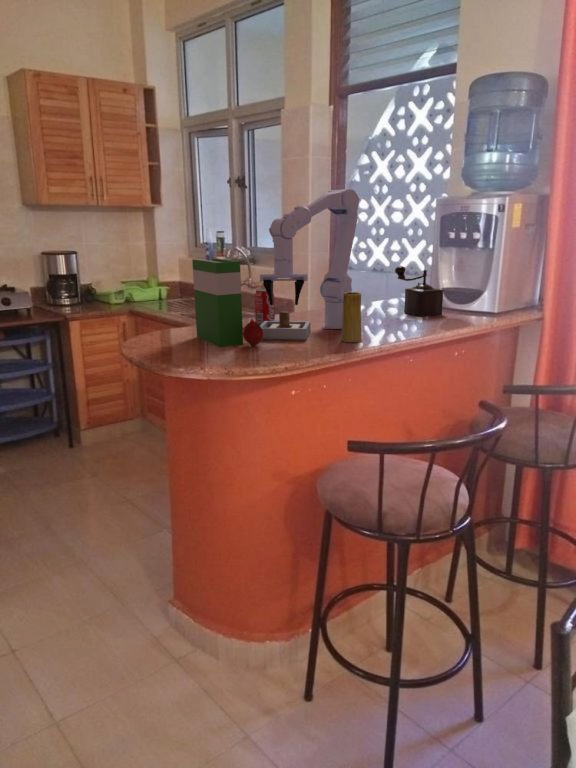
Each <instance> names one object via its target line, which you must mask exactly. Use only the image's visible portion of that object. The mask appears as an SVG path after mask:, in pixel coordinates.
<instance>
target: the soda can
mask: <svg viewBox="0 0 576 768" xmlns="http://www.w3.org/2000/svg"><path fill="white" fill-rule="evenodd" d="M253 297H254V298H253V299H254V301H253V302H254V321H255V322H256V323H258V324H260V325H261V324H262V323H263V322H264V321H276V319H275V318H276V304H275V303H276V302H275V300H276V299H275V294H274V292H273V299H274V304H273V305H270V300H269V296H268V294H267V291H266V289H265V288H257V289H255V292H254V296H253Z"/></svg>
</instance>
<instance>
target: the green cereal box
mask: <svg viewBox="0 0 576 768" xmlns="http://www.w3.org/2000/svg"><path fill="white" fill-rule="evenodd" d="M191 261H192V262H191V263H192V275H193V277H192V279H193V291H194V293H193V294H194V295H193V296H194V310H195V312H194V313H195V326H196V327H195V328H196V338H198V339H200V338H201V340H202V339H203V341H204V340H205V342H208V343H209V344H211V343H212V344H211V345H214V346H216V347H218V348H225V347H227V348H228V347H232V346H241V345H244V337H243V330H244V327H243V326H244V325H243V308H242V307H243V305H242V304H243V303H242V301H243V300H242V280H241V279H242V277H241V261H240V260H239V261H238V260H232V259H224V258H223V259H222V258H216V257H215V258H211V260H202V259H196V258H195V259H194V258H193V259H191Z"/></svg>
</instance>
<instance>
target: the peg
mask: <svg viewBox="0 0 576 768" xmlns="http://www.w3.org/2000/svg"><path fill="white" fill-rule="evenodd" d="M278 314H279V315H278V319H279V320H278V321H279V328H290V321H291V320H290V319H291V318H290V317H291V315H290V314H291V313H290V311H279V313H278Z"/></svg>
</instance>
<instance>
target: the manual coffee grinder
mask: <svg viewBox="0 0 576 768" xmlns="http://www.w3.org/2000/svg"><path fill="white" fill-rule="evenodd" d="M405 272H406V267H405V266H402V265H400V266H397V267H395V268H394V273H395V274H397V280H401V281H406V282H411V281H416V280H418V279H422V278H423V280H422V283H420V282H417V285H415V286H412V287H411V288H404V307H403V313H404V314H406V315H410V316H413V317H418V318H421V317H422V318H424V317H426V318H427V317H434V316H435V317H436V316H442V314H443V300H444V298H443V297H444V290H443V289H439V288H434V287H433V286H432V285H430V284H428V283H426V280H427V276H428V274H427V272H428V270H427V269H424V270H423V273H422V274H421V275H419V276H415V277H411V278H410V277H409V278H406V276H405Z"/></svg>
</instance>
